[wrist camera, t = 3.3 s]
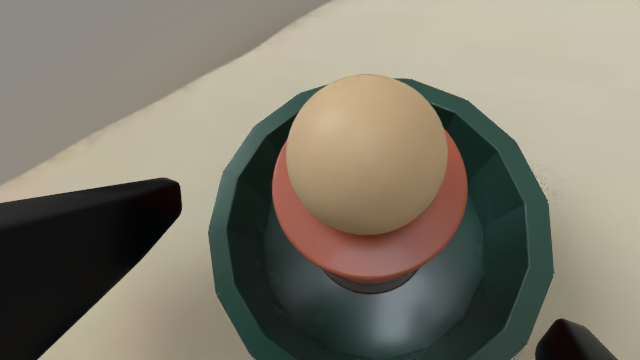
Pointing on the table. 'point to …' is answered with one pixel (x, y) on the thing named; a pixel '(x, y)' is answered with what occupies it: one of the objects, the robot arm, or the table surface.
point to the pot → (412, 297)
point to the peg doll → (369, 183)
